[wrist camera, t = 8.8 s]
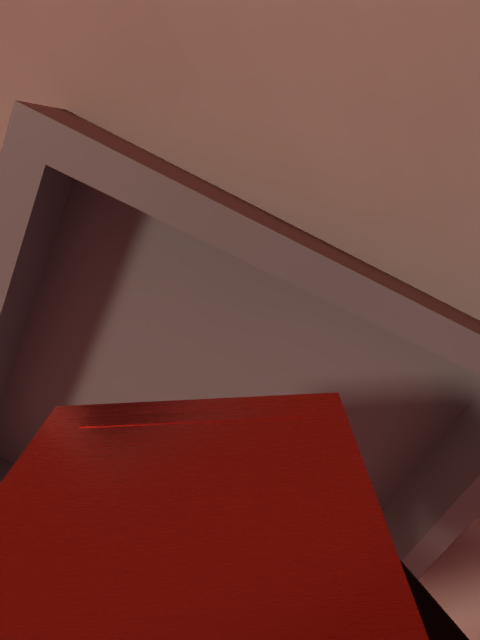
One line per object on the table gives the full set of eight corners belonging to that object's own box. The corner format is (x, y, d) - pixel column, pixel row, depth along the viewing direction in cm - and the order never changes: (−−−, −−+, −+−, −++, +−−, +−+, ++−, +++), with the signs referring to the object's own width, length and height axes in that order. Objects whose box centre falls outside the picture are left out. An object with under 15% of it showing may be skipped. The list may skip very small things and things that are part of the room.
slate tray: (530, 347, 18) (593, 392, 15) (331, 585, 23) (344, 656, 20) (65, 109, 15) (14, 100, 11) (-38, 450, 20) (-92, 508, 17)
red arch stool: (338, 391, 9) (486, 792, 3) (334, 562, 11) (425, 999, 5) (55, 406, 9) (-232, 802, 4) (99, 570, 11) (-45, 995, 6)
